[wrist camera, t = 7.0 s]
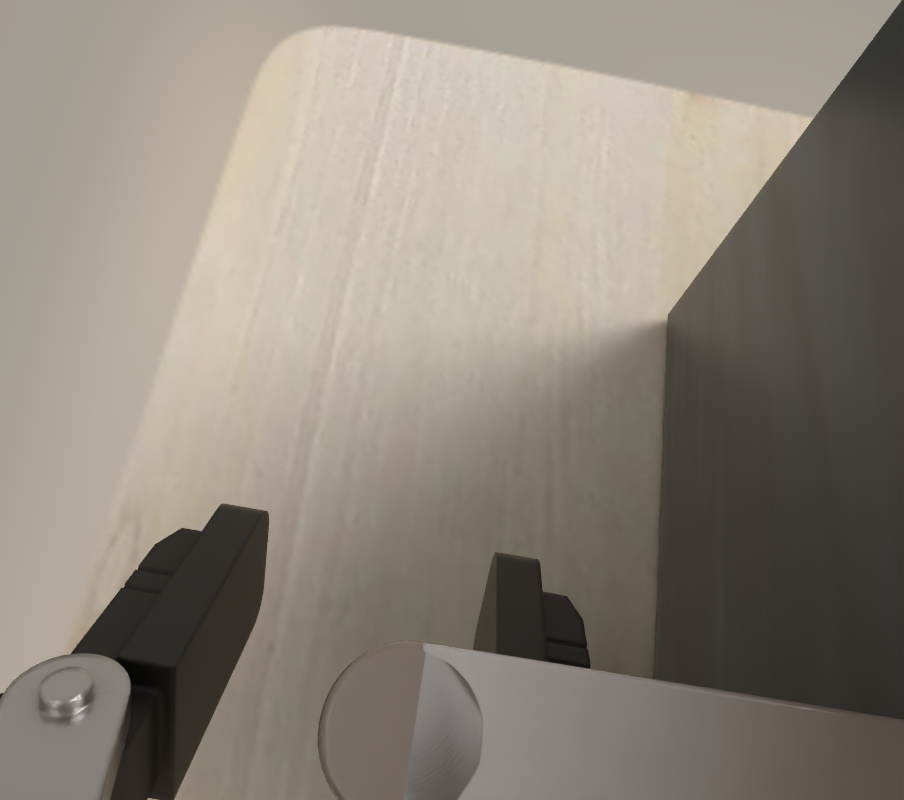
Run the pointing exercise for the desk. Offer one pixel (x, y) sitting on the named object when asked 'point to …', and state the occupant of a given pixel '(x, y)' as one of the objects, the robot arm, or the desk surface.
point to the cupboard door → (721, 533)
